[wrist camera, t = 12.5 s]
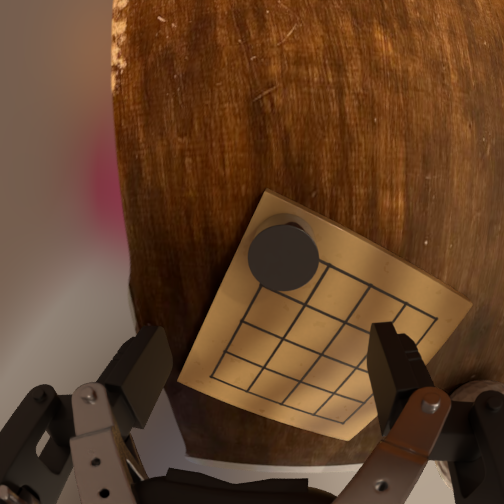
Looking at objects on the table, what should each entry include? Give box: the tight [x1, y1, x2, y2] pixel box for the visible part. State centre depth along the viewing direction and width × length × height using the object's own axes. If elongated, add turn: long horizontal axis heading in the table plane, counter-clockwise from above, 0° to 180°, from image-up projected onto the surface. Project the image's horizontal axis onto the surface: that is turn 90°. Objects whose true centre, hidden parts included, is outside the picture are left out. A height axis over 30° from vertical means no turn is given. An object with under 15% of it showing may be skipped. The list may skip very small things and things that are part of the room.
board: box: [177, 188, 473, 441], centre depth 28 cm, size 22×22×2 cm
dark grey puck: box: [248, 213, 319, 291], centre depth 22 cm, size 5×5×3 cm
